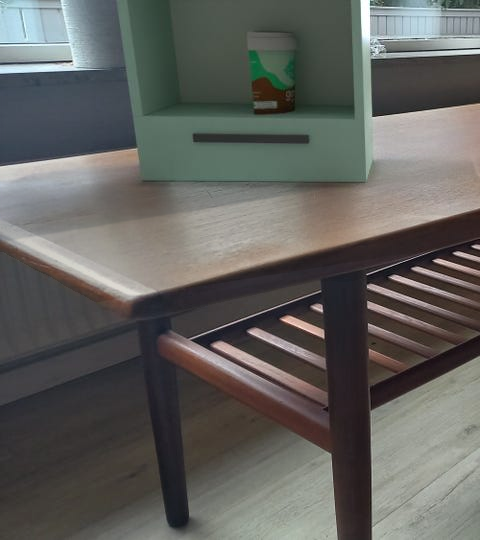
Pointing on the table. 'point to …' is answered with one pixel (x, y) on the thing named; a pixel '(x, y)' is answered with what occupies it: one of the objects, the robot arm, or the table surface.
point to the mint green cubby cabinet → (248, 90)
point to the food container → (272, 71)
